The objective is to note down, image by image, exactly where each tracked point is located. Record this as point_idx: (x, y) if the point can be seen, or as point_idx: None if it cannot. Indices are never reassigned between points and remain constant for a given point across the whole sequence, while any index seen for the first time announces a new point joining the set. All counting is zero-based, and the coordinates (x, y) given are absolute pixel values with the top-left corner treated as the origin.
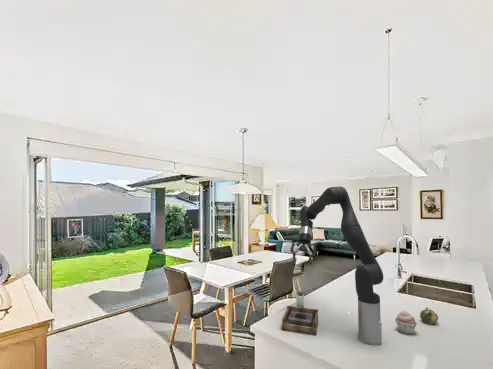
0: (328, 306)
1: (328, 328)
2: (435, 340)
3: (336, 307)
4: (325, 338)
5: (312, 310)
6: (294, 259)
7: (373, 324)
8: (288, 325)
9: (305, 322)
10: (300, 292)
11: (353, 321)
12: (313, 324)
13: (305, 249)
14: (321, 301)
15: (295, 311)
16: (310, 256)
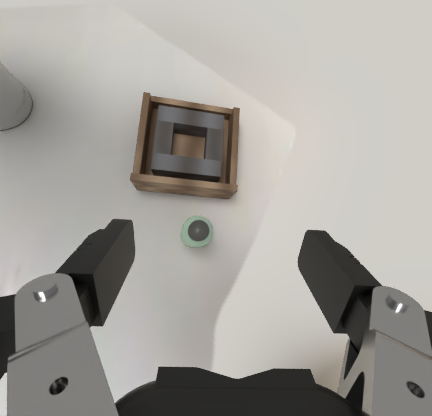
0: None
1: (110, 150)
2: None
3: None
4: (125, 95)
5: (151, 176)
6: (302, 250)
7: None
8: (219, 108)
9: (175, 108)
10: (197, 230)
11: (13, 218)
12: (152, 151)
13: (165, 397)
14: None
15: (207, 174)
16: (82, 265)
